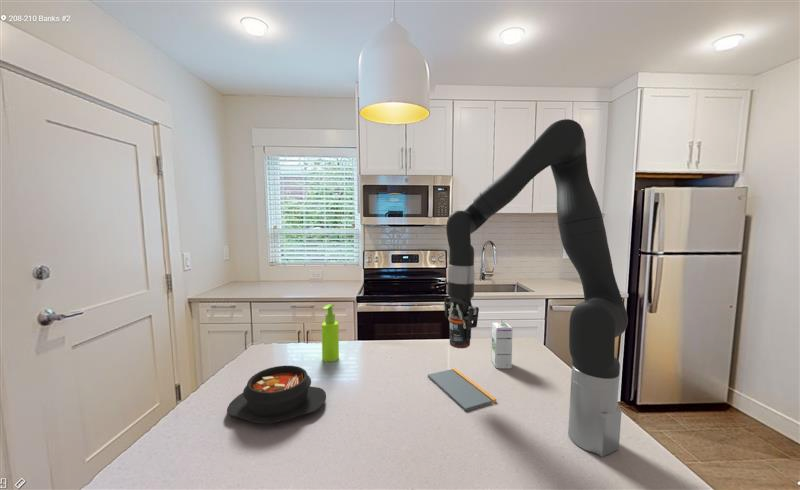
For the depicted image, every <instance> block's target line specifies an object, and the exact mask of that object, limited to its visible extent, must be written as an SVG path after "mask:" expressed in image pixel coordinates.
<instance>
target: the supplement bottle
mask: <svg viewBox="0 0 800 490" xmlns="http://www.w3.org/2000/svg"><path fill="white" fill-rule="evenodd" d="M464 317H468V315H464ZM467 321H468V319H467V320H466V324H467ZM449 345H450V346H451V347H452V348H456V349H467V348H469V347H470V346H471V340H470V341H463V324H462V321H461V320H460V318H459V313H458V311H457V308H456V307H454V308H453V314H451V315H450V321H449Z"/></svg>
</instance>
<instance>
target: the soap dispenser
mask: <svg viewBox="0 0 800 490" xmlns="http://www.w3.org/2000/svg"><path fill="white" fill-rule="evenodd" d="M333 307H335V303H328V304H326V305H324V306H323V307H322V308H321V309H322V310H325V311H326V310H327V312H326V313H325V314H324V315H325V316H324V317H325V321H323V322H322V323H321V353H322V354H321V359H322V361H324V362H329V363H331V362H335V361H337V360H339V358H340V355H339V354H340V353H339V350H340V349H339V348H340V347H339V346H340V343H339V340H340V339H339V338H340V336H339V334H340V333H339V324H340V323H339V321H337V320H336V313H335V312H334V311H333Z"/></svg>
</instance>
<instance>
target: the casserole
mask: <svg viewBox="0 0 800 490" xmlns="http://www.w3.org/2000/svg"><path fill="white" fill-rule="evenodd" d="M311 379H312V378H311V377H310V376H309V374H308V372H307V371H306V370H305V369H304V368H303V367H300V366H297V365H277V366H273V367H269V368H266V369H263V370H260V371H258V372H257V373H254V374H253V375H252V376H251V377H250V378H249V379H248V381H247V384H246V385H245V387H244V389H243V390H242V391H243V392H242V393H240V394H239V395H237V396H235V398H234V399H233V400H232V401H230V403H229V405H228V406H227V409H226V413H227V415H228V416H229V417H234V418H238V419H243V420H247V421H249V422H251V423H254V424H274V423H279V422H284V421H287V420H290V419H292V418H296V417H298V416H303V415H307V414H309V415H310V414H313V413H314V412H316V411H318V410H319V409H320V408H322V407H323V405H324V404H325V403H326V401H327V400H326V399H327V394H326V391H325V390H324V389H323V388H321V387H316V386H311V384H312V380H311Z"/></svg>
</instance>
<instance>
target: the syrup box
mask: <svg viewBox="0 0 800 490" xmlns="http://www.w3.org/2000/svg"><path fill="white" fill-rule="evenodd" d="M512 357H513V327H512V326H511V325H510V324H509V323H508V322H500V321H499V322H491V361H490V362H491V363H492V364H493V366H494V368H496V369H509V370H510V369H512V363H513V362H512V361H513V360H512V359H513V358H512Z"/></svg>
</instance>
